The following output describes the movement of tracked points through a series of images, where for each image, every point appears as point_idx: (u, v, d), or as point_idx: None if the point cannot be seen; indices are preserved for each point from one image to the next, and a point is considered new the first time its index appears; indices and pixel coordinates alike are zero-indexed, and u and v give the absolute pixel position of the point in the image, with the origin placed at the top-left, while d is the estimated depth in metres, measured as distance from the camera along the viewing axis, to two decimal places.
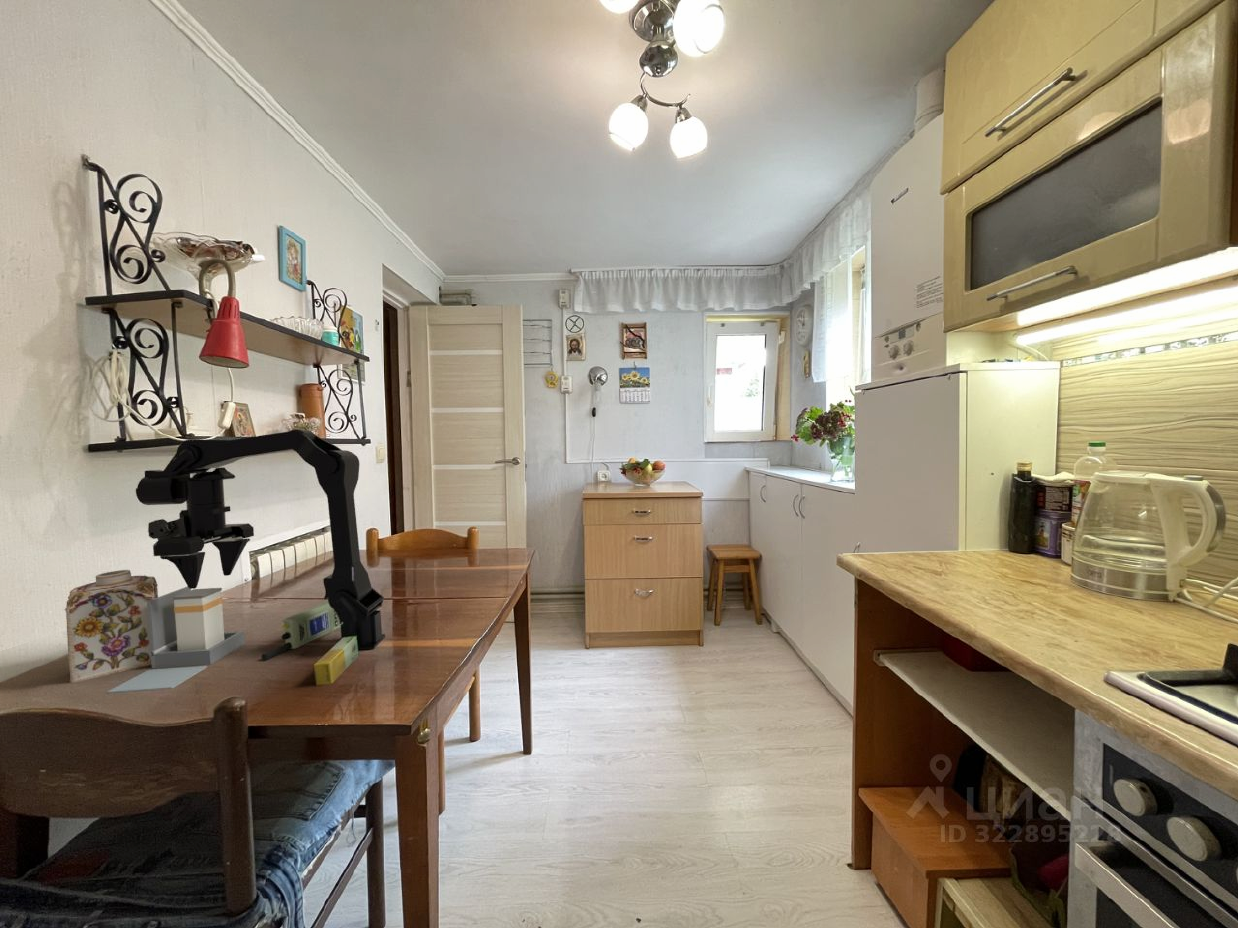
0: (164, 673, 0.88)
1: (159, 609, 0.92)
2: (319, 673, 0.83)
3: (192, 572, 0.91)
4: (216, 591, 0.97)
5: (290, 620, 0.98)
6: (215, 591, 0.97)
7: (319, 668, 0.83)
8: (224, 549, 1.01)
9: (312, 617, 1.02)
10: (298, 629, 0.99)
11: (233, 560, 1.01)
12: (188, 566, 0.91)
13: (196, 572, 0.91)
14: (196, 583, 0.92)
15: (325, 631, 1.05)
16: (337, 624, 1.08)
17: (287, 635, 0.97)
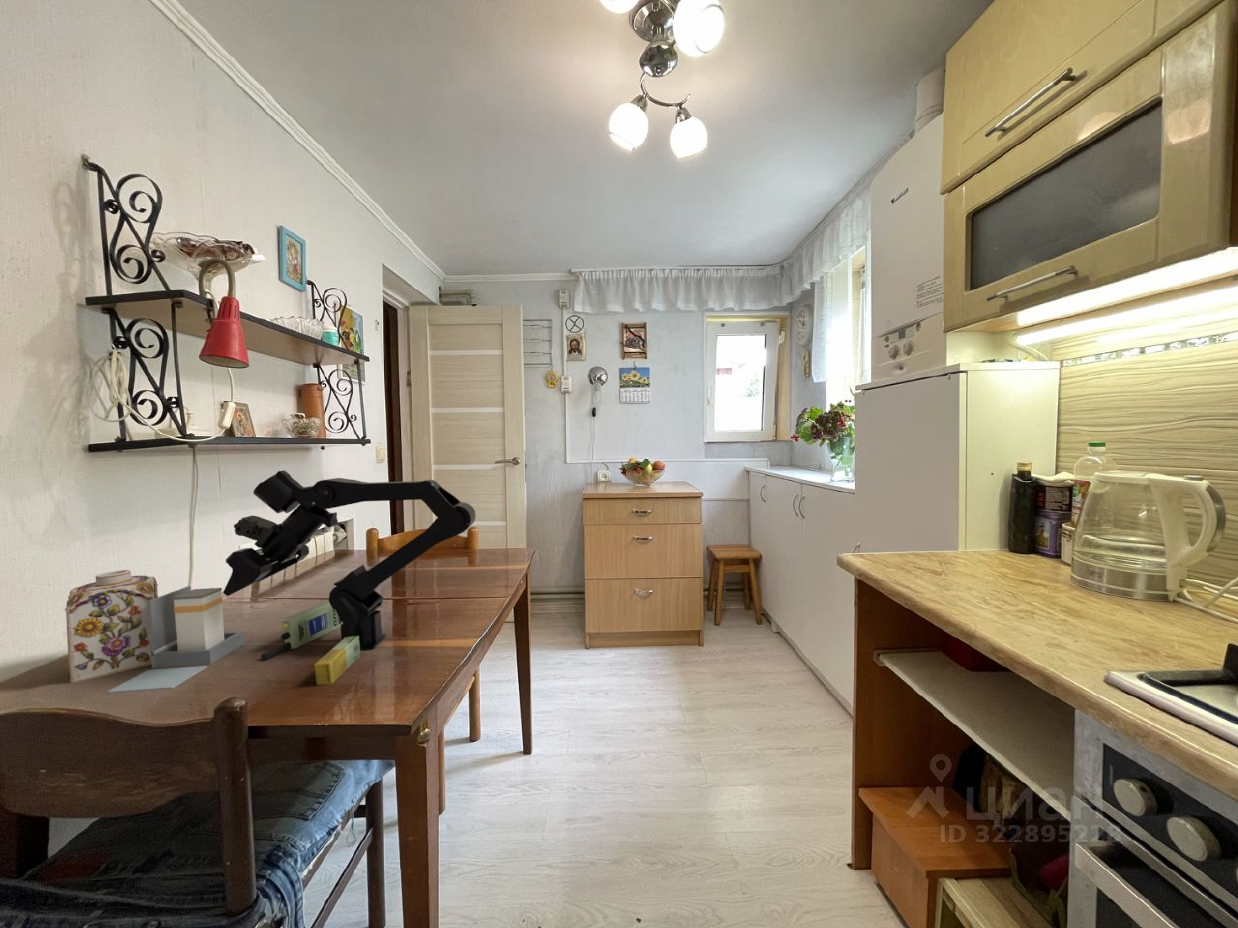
0: (164, 673, 0.88)
1: (159, 609, 0.92)
2: (319, 673, 0.83)
3: (238, 586, 0.91)
4: (216, 591, 0.97)
5: (289, 620, 0.98)
6: (215, 591, 0.97)
7: (319, 668, 0.83)
8: None
9: (311, 617, 1.02)
10: (297, 629, 0.99)
11: (271, 574, 1.01)
12: (240, 579, 0.91)
13: (241, 588, 0.91)
14: (232, 593, 0.92)
15: (325, 631, 1.05)
16: (336, 624, 1.09)
17: (286, 635, 0.97)
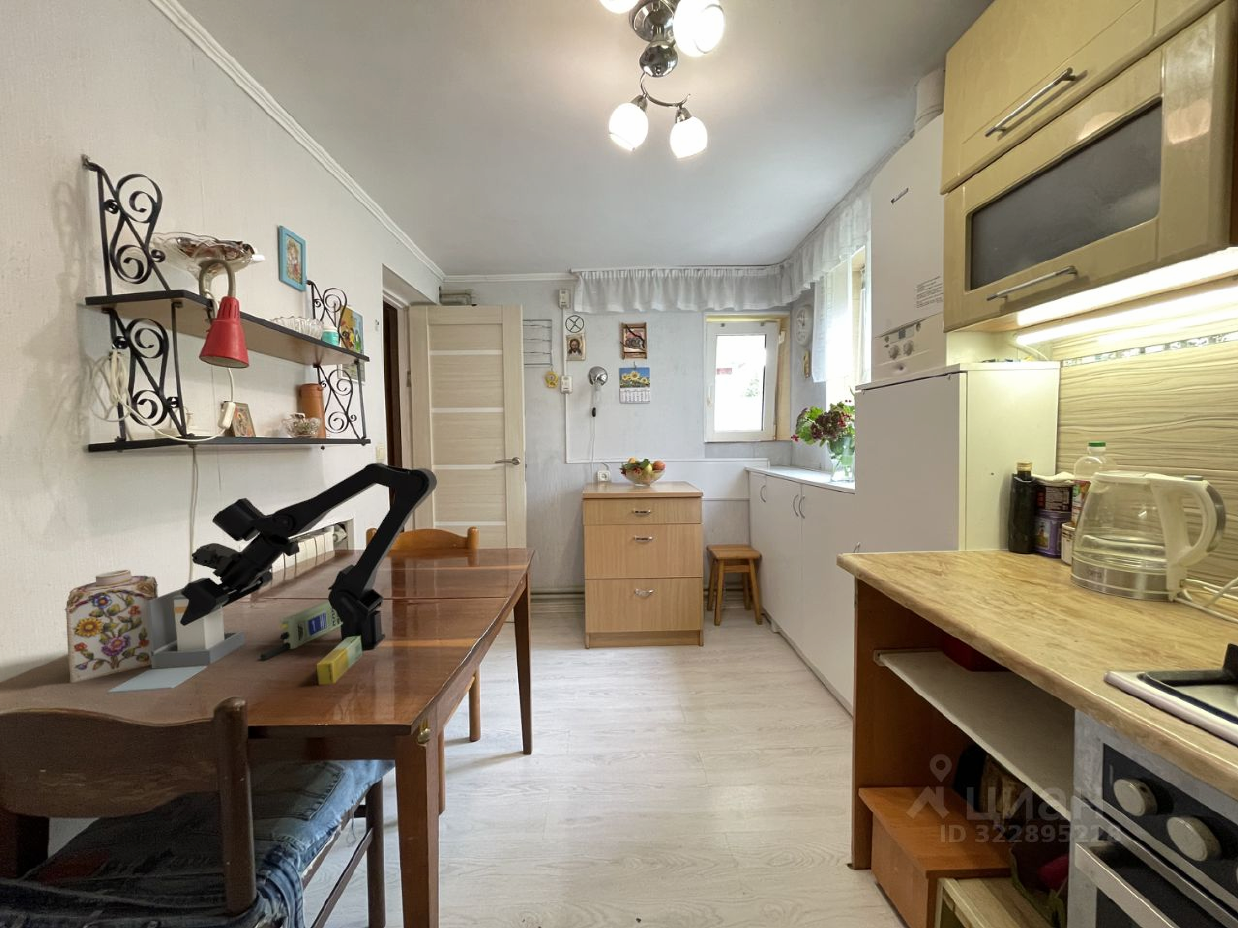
0: (164, 673, 0.88)
1: (159, 609, 0.92)
2: (321, 673, 0.83)
3: (195, 616, 0.90)
4: None
5: (289, 620, 0.98)
6: None
7: (321, 668, 0.83)
8: None
9: (310, 617, 1.02)
10: (297, 629, 0.99)
11: (232, 601, 1.01)
12: (196, 609, 0.90)
13: (197, 618, 0.91)
14: (189, 623, 0.91)
15: (324, 631, 1.05)
16: (334, 624, 1.09)
17: (286, 635, 0.97)
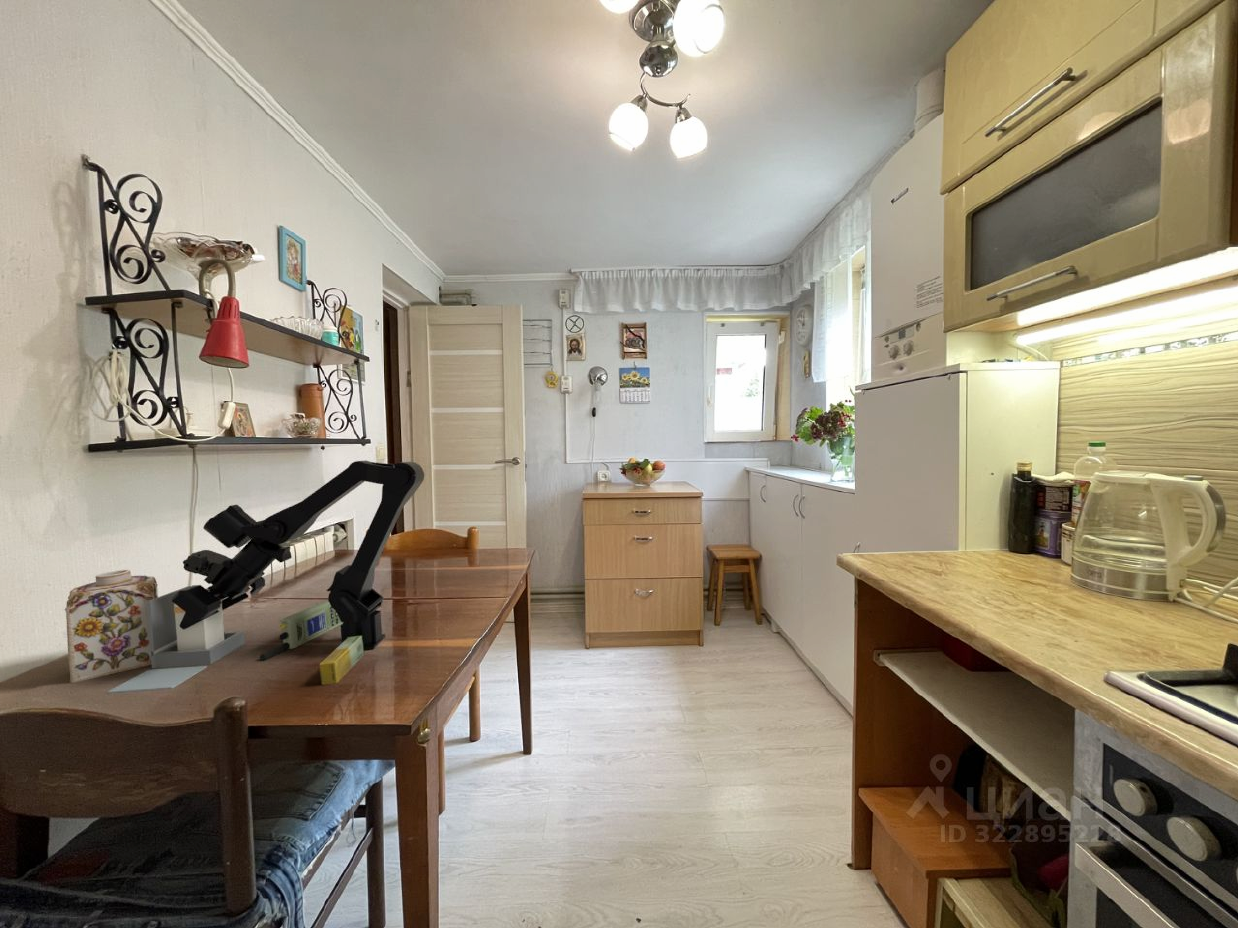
0: (164, 673, 0.88)
1: (159, 609, 0.92)
2: (324, 672, 0.83)
3: (194, 620, 0.92)
4: None
5: (288, 620, 0.98)
6: None
7: (324, 667, 0.83)
8: None
9: (309, 617, 1.02)
10: (296, 629, 0.99)
11: None
12: None
13: (197, 622, 0.92)
14: None
15: (322, 631, 1.05)
16: (333, 623, 1.09)
17: (285, 635, 0.97)
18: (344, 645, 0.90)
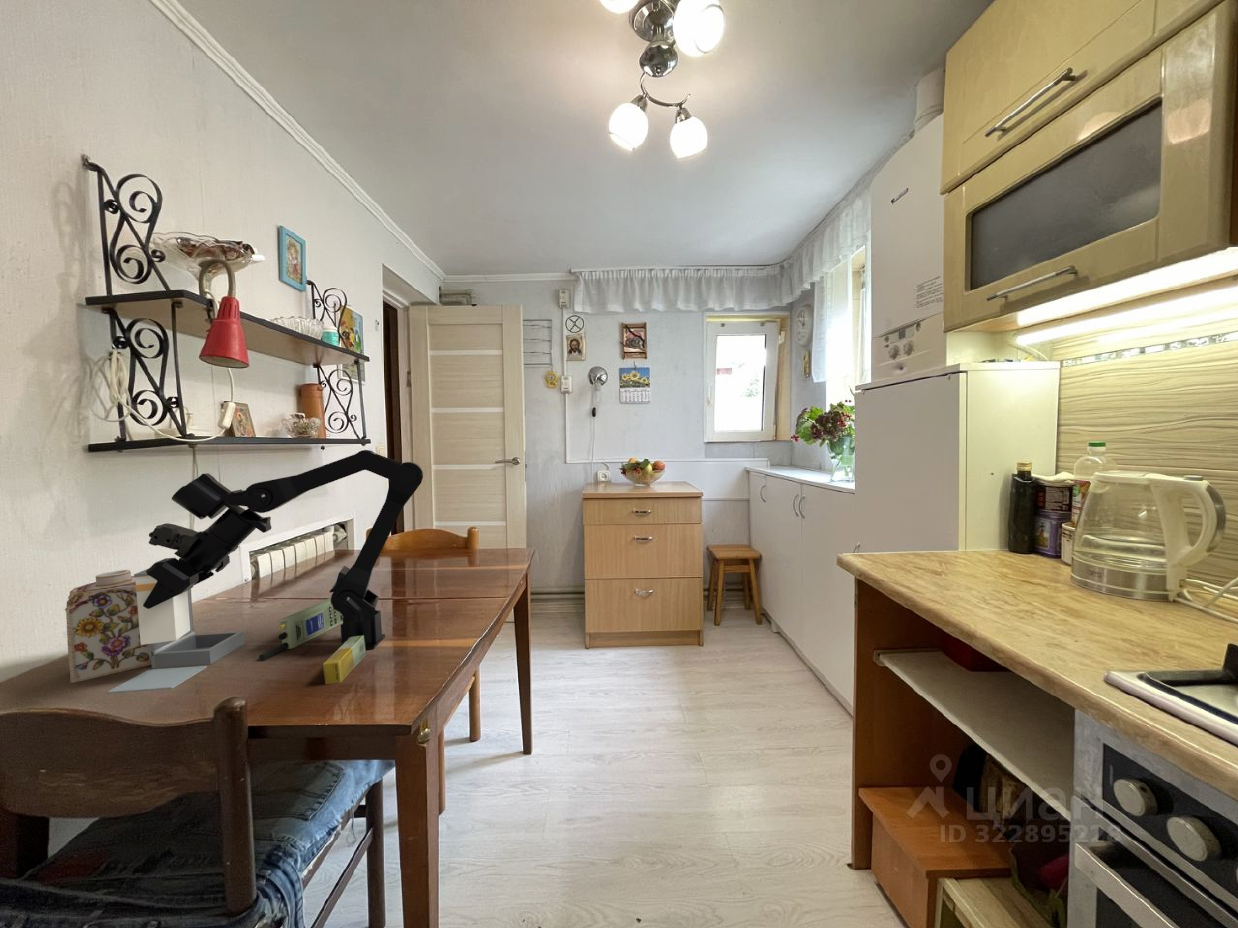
0: (164, 673, 0.88)
1: None
2: (328, 672, 0.83)
3: (163, 597, 0.85)
4: None
5: (287, 620, 0.98)
6: None
7: (328, 667, 0.83)
8: None
9: (308, 617, 1.02)
10: (295, 629, 0.99)
11: None
12: (165, 589, 0.85)
13: (167, 599, 0.85)
14: None
15: (321, 631, 1.05)
16: (332, 623, 1.09)
17: (284, 635, 0.97)
18: (347, 645, 0.90)
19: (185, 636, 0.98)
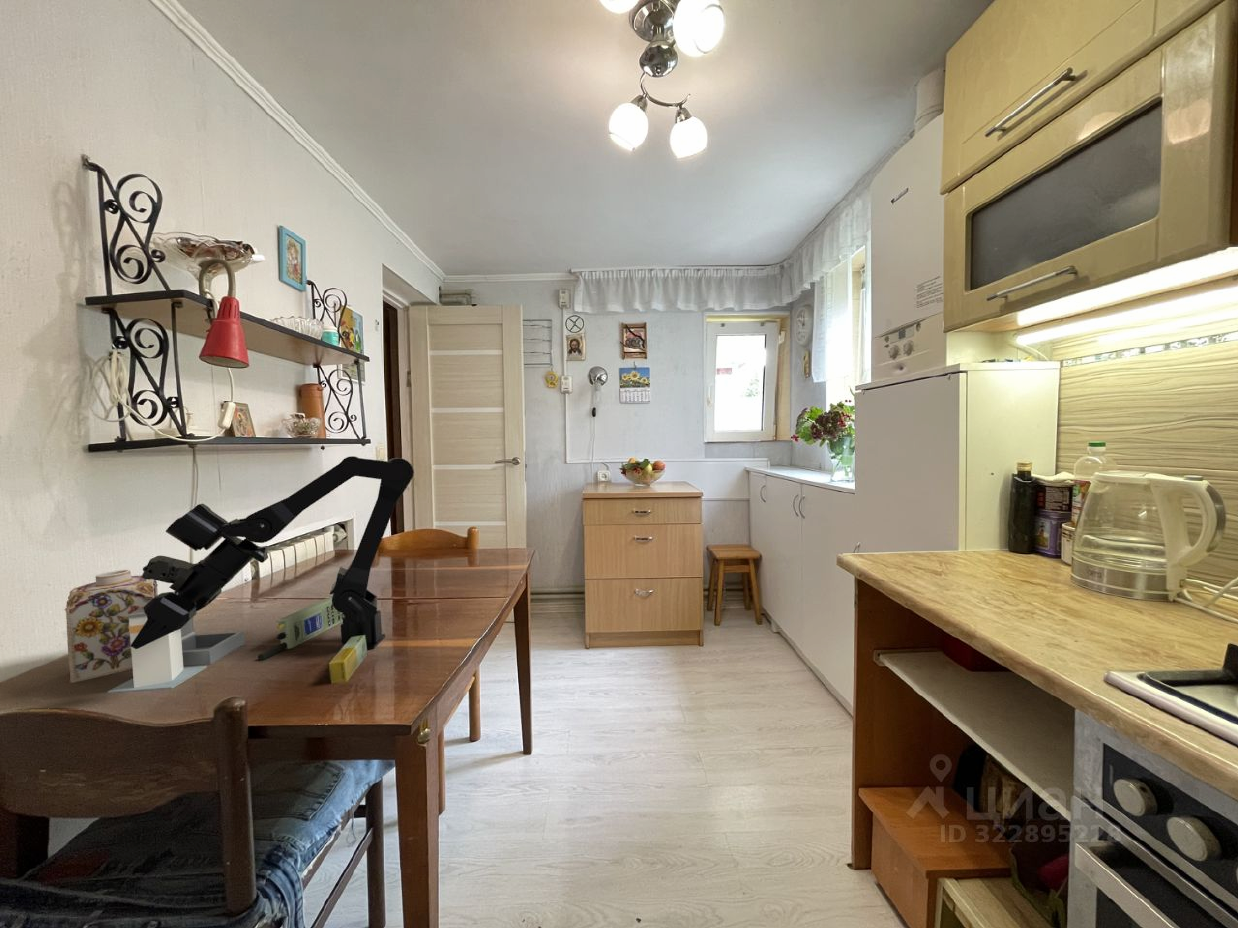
0: None
1: None
2: (334, 671, 0.83)
3: (153, 636, 0.81)
4: None
5: (285, 620, 0.98)
6: None
7: (334, 666, 0.83)
8: None
9: (306, 617, 1.02)
10: (293, 629, 0.99)
11: None
12: (156, 628, 0.81)
13: (157, 638, 0.81)
14: (143, 645, 0.81)
15: (319, 631, 1.05)
16: (330, 623, 1.09)
17: (283, 635, 0.97)
18: (349, 644, 0.91)
19: (185, 636, 0.98)
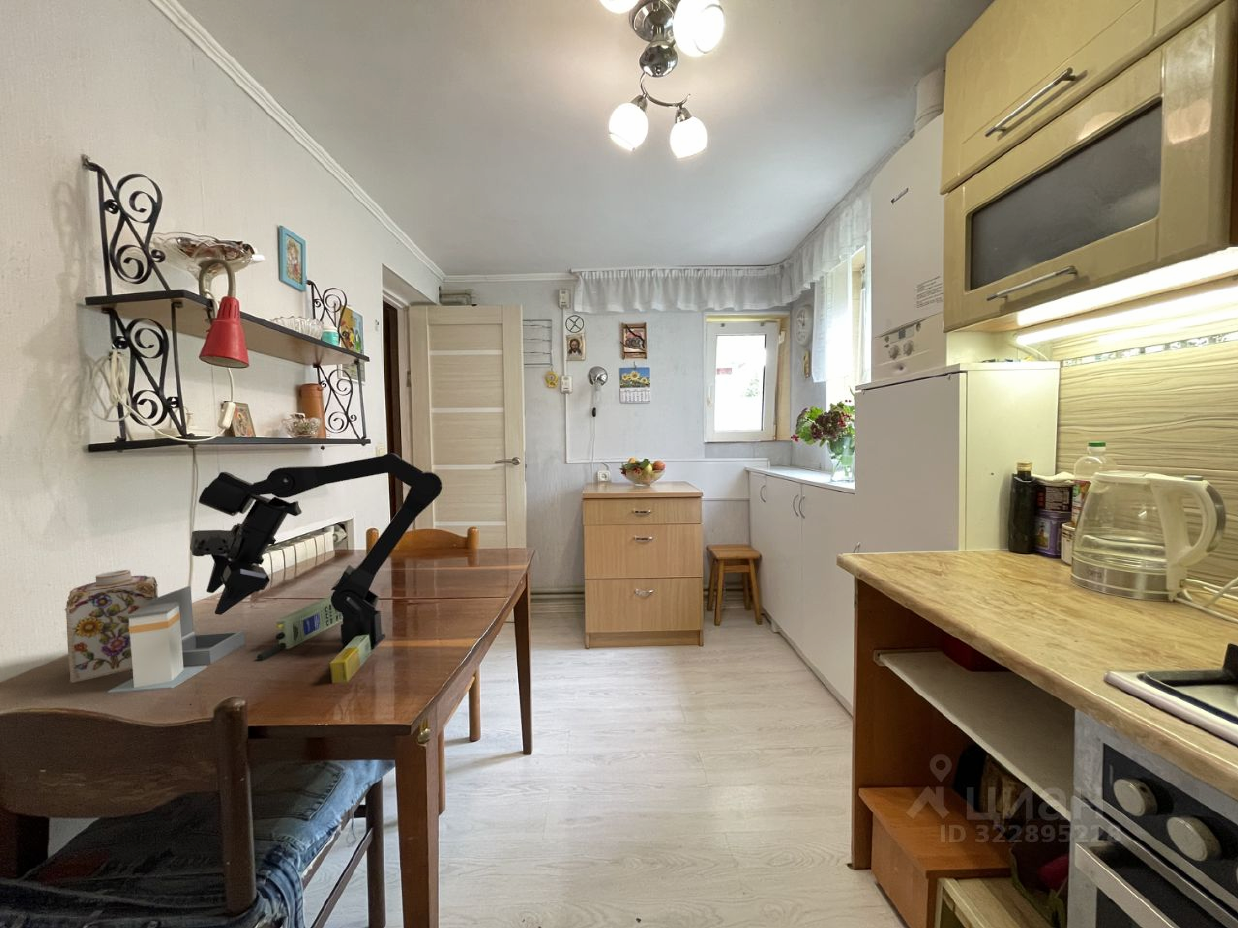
0: None
1: None
2: (335, 671, 0.83)
3: (235, 600, 0.88)
4: (176, 605, 0.88)
5: (284, 620, 0.98)
6: (175, 605, 0.87)
7: (335, 666, 0.83)
8: (222, 565, 0.94)
9: (305, 617, 1.02)
10: (292, 629, 0.99)
11: None
12: (235, 594, 0.88)
13: (239, 601, 0.88)
14: None
15: (318, 631, 1.05)
16: (328, 623, 1.09)
17: (281, 635, 0.97)
18: (352, 644, 0.91)
19: (185, 636, 0.98)
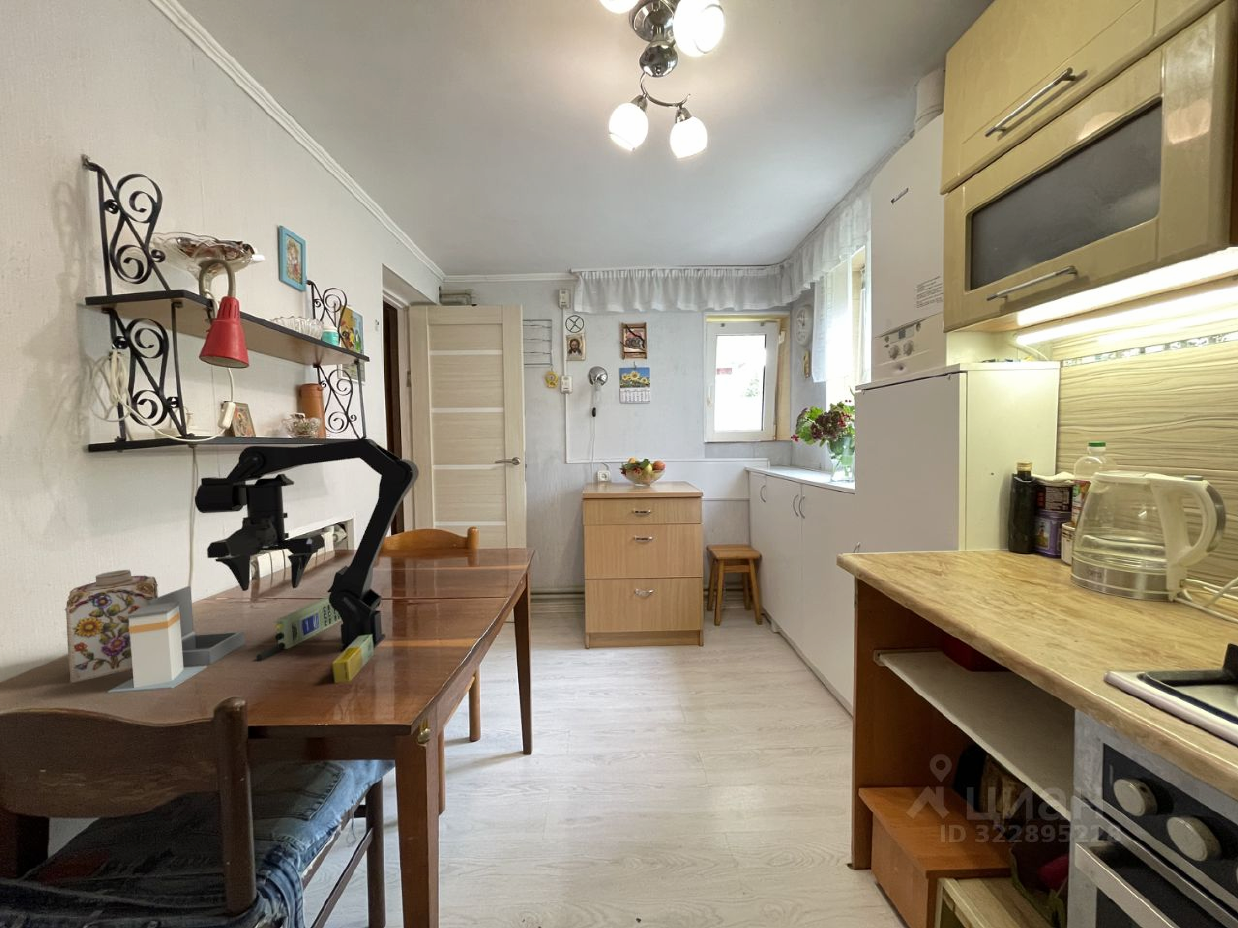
0: None
1: None
2: (337, 671, 0.83)
3: (303, 569, 0.97)
4: (176, 605, 0.88)
5: (283, 620, 0.98)
6: (175, 605, 0.87)
7: (337, 666, 0.83)
8: (240, 563, 0.95)
9: (304, 617, 1.02)
10: (291, 629, 0.99)
11: (249, 573, 0.97)
12: (301, 564, 0.97)
13: (304, 569, 0.98)
14: None
15: (316, 631, 1.05)
16: (326, 623, 1.09)
17: (280, 635, 0.97)
18: (355, 644, 0.91)
19: (185, 636, 0.98)
